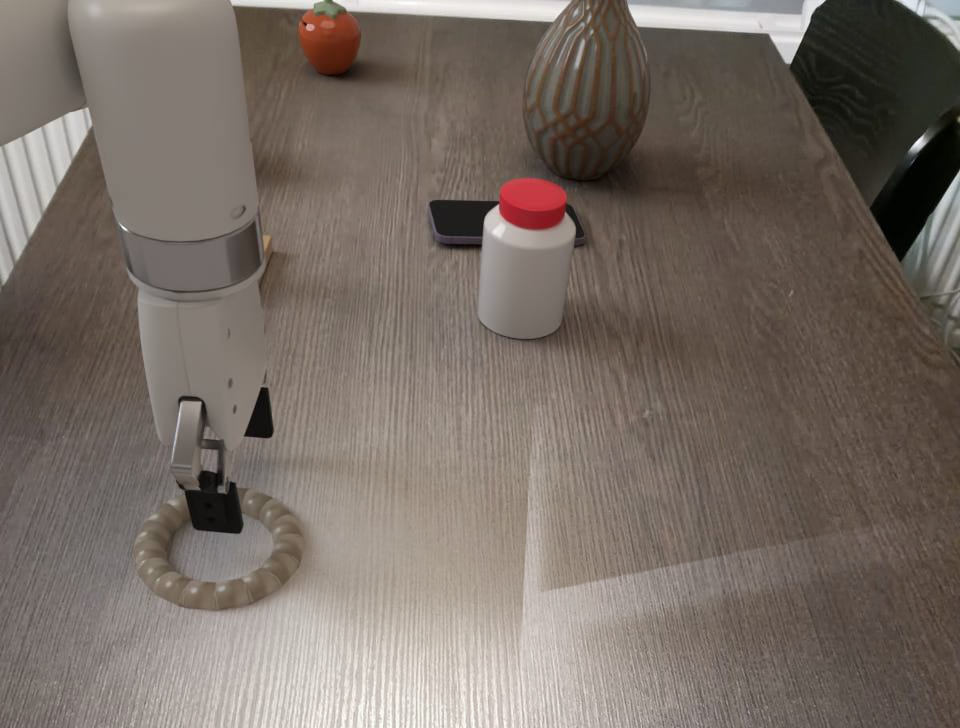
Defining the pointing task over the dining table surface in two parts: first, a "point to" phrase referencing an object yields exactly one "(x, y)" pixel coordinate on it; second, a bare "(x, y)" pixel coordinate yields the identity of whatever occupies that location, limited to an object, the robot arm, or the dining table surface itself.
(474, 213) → the smartphone
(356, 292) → the dining table surface
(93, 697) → the dining table surface
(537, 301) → the pill bottle
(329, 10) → the tomato
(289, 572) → the ring
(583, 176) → the vase
